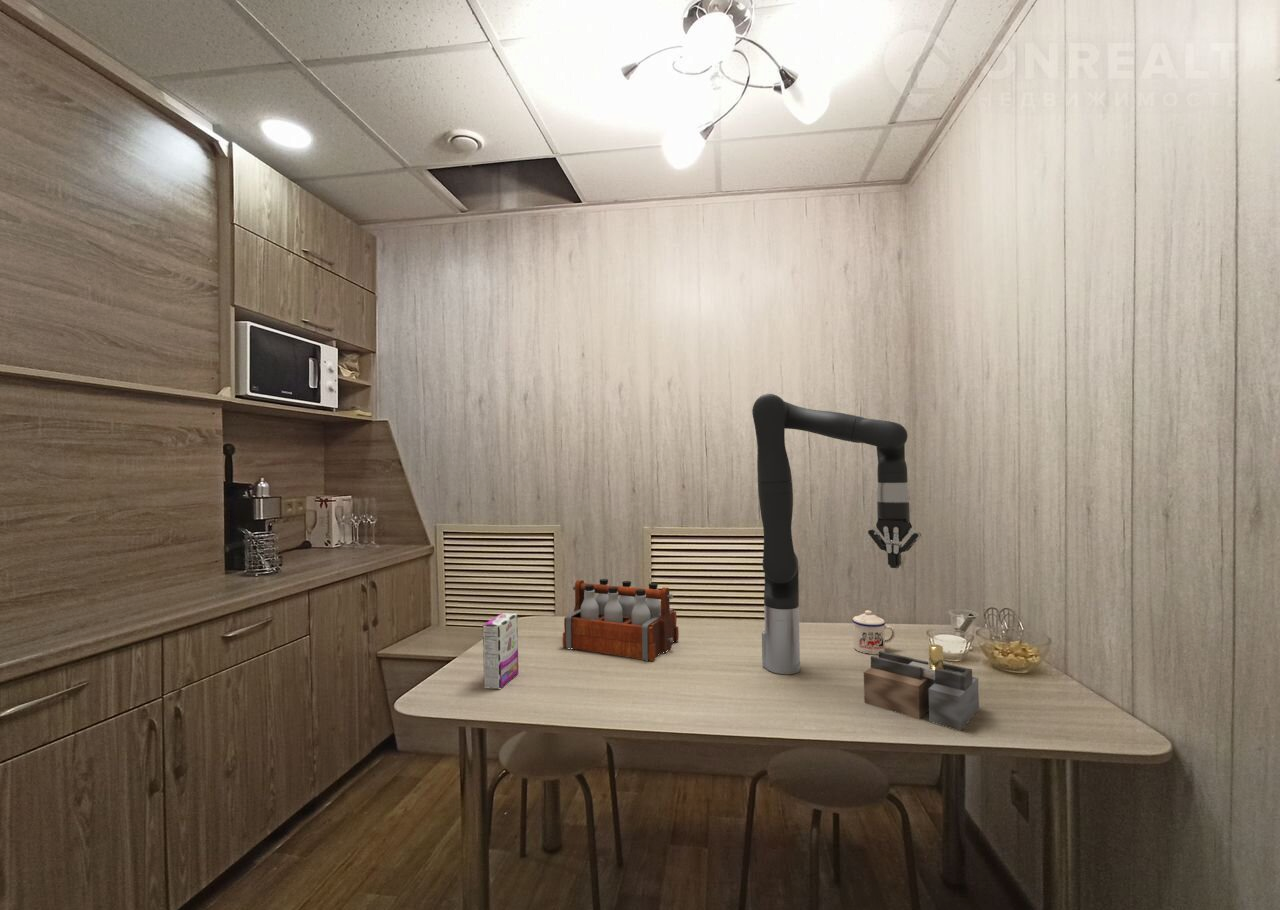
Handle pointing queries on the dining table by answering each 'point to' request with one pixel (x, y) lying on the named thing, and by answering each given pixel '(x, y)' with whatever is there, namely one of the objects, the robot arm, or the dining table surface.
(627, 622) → the milk bottle holder
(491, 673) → the candy bar box
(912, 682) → the pair of card holders
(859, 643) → the teacup with lid
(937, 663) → the gold and grey piece
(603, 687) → the dining table surface
